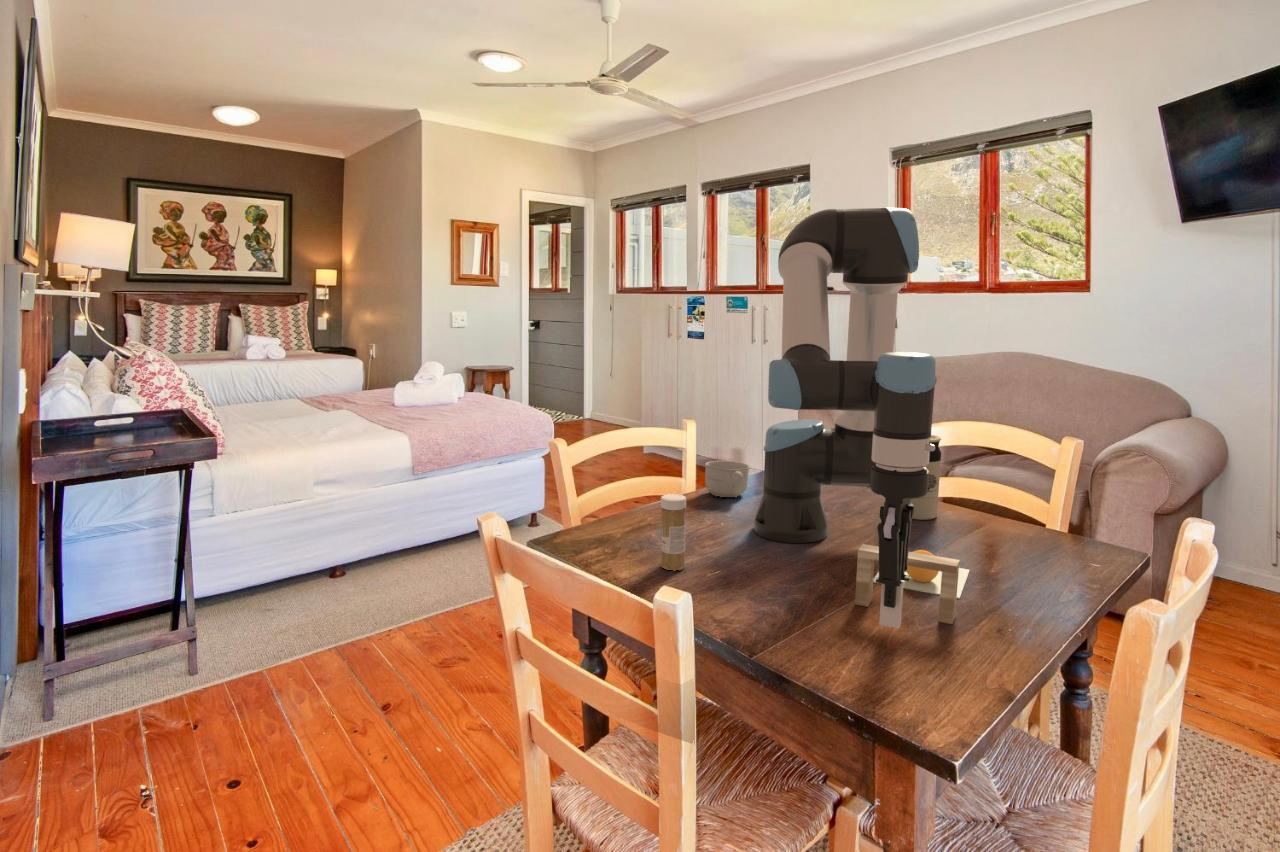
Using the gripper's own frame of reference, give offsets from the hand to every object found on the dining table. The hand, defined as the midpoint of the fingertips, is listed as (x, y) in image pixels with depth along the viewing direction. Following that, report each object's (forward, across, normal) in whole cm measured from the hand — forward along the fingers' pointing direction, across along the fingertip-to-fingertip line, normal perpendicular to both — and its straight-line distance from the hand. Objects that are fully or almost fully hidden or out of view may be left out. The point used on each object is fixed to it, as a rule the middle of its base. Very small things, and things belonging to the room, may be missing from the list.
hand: (890, 624), depth 104 cm
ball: (0, +25, 0) cm, 25 cm away
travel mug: (+2, +64, +7) cm, 64 cm away
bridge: (+2, +11, 0) cm, 11 cm away
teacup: (+3, +57, +50) cm, 76 cm away
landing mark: (+2, +27, 0) cm, 27 cm away
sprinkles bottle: (+2, +9, +40) cm, 41 cm away
